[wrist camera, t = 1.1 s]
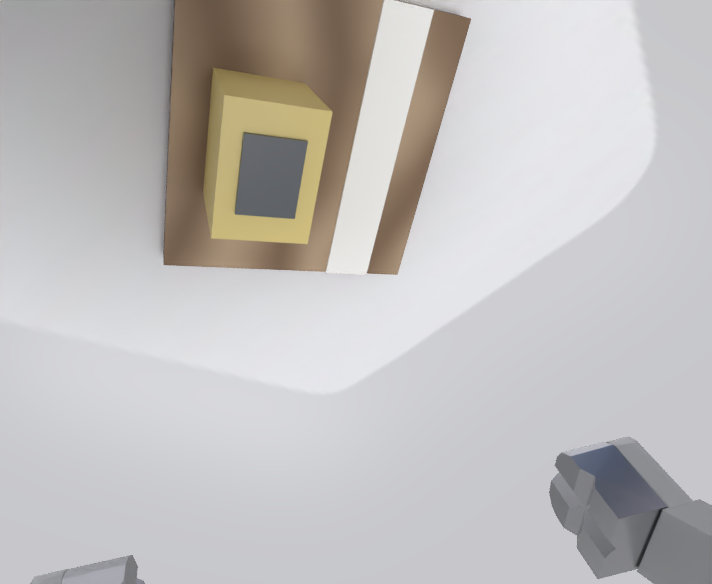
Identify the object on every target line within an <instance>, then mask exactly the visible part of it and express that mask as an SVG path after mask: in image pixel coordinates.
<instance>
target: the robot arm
mask: <svg viewBox="0 0 712 584" xmlns="http://www.w3.org/2000/svg"><path fill="white" fill-rule="evenodd" d="M555 466H556V468H557V469H558V471H559V473H558V474H557V475H556V476H555V477H554V478H553V480H552V481H551V486H550V491H549V493H550V498H551V504H552V507H553V509H554V512H555V514H556V516H557V518H558V519H559V521H560V522H561V524H562V526H563V527H564V528H565V529H567V530H569V531H570V532H572V533H574V534H576V535H577V549H578V550H579V552H580V553H581V555H582V556H583V558H584V559H585V561H586V562H587V564H588V565H589V567H590V568H591V570H592V571H593V573H594V574H595V576H596V577H597V579H600V578H604V577H608V576H612V575H616V574H619V573H623V572H627V571H631V570H635V569H638V570H637V572H639V573H640V574H641V575H643V576H644V577H645V578H647V579H648V580H650V581H651V582H652V583H654V584H712V505H710V504H708V503H706V502H704V501H702V500H695V501H693V500H692V499H691V498H690V497H689V496H688V495H687V494H686V493H685V492H684V491H683V490H682V489H681V488H680V486H679V485H678V484H677V483H676V482H675V481H674V480H673V479H672V478H671V477H670V476H669V475H668V474H667V473H666V472H665V470H663V469H662V467H661V466H660V465H659V464H658V463H657V462H656V461H655V460H654V459H653V458H652V457H651V456H650V454H648V452H647V451H646V450H645V449H644V448H643V447H642V446H641V445H640V444H639V443H638V442H637V441H636V440H634V439H633V438H631V437H625V438H620V439H616V440H613V441H609V442H601V443H598V444H593V445H589V446H585V447H582V448H578V449H574V450H570V451H566V452H562V453H561V454H560V455H559V456H558V457H557V460H556V464H555ZM137 568H138V566H137V564H136V562H135V559H134V558H133V555H130V556H126V557H121V558H117V559H112V560H108V561H103V562H98V563H94V564H90V565H85V566H80V567H76V568H71V569H66V570H61V571H57V572H53V573H48V574H44V575H40V576H36V577H34V579H33V580H32V582H31V584H145V583H144V581H142V580H140V579H137Z"/></svg>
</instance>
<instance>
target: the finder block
mask: <svg viewBox="0 0 712 584" xmlns="http://www.w3.org/2000/svg"><path fill="white" fill-rule="evenodd" d="M332 113H333V112H332V110H331V109H330V108H329V107H328V106H327V105H326V104H325V103H324V102H323V101H322V100H321V99H320V98H319V97H318V96H317V95H316V94H315V93H314V92H313V91H312V90H311V89H310V88H309V87H308V86H307V85H306V84H305V83H301V82H295V81H289V80H283V79H278V78H272V77H266V76H260V75H254V74H248V73H242V72H237V71H231V70H225V69H219V68H213V74H212V86H211V99H210V111H209V124H208V137H207V149H206V162H205V174H204V187H203V195H204V200H205V206H206V212H207V217H208V223H209V229H210V234H211V238H213V239H230V240H247V241H263V242H280V243H297V244H308V240H309V234H310V229H311V224H312V218H313V213H314V208H315V203H316V197H317V192H318V187H319V181H320V176H321V171H322V166H323V160H324V155H325V150H326V144H327V139H328V134H329V129H330V123H331V118H332Z"/></svg>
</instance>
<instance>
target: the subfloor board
mask: <svg viewBox="0 0 712 584" xmlns="http://www.w3.org/2000/svg"><path fill="white" fill-rule="evenodd" d="M470 21H471V19H470V18H466V17H463V16H459V15H455V14H451V13H447V12H443V11H439V10H434V9H430V8H426V7H422V6H418V5H414V4H410V3H406V2H402V1H397V0H175V3H174V26H173V49H172V71H171V94H170V117H169V139H168V162H167V185H166V208H165V230H164V253H163V254H164V265H178V266H202V267H226V268H250V269H274V270H298V271H322V272H326V273H336V274H361V275H366V274H367V273H370V274H394V275H397V274H398V271H399V267H400V264H401V260H402V257H403V253H404V250H405V246H406V243H407V239H408V236H409V232H410V229H411V225H412V222H413V219H414V215H415V212H416V208H417V205H418V201H419V198H420V194H421V191H422V187H423V184H424V180H425V177H426V173H427V170H428V167H429V163H430V160H431V156H432V153H433V149H434V146H435V142H436V139H437V135H438V132H439V128H440V125H441V121H442V118H443V115H444V111H445V108H446V104H447V101H448V97H449V94H450V90H451V87H452V83H453V80H454V76H455V73H456V70H457V66H458V63H459V59H460V56H461V52H462V49H463V45H464V42H465V38H466V35H467V31H468V28H469V24H470ZM213 68H219V69H225V70H231V71H237V72H242V73H248V74H254V75H260V76H266V77H272V78H278V79H283V80H289V81H295V82H301V83H305V84H306V85H307V86H308V87H309V88H310V89H311V90H312V91H313V92H314V93H315V94H316V95H317V96H318V97H319V98H320V99H321V100H322V101H323V102H324V103H325V104H326V105H327V106H328V107H329V108H330V109H331V110H332V112H333V113H332V118H331V123H330V129H329V134H328V139H327V144H326V150H325V155H324V160H323V166H322V171H321V176H320V181H319V187H318V192H317V197H316V203H315V208H314V213H313V218H312V224H311V229H310V234H309V240H308V244H297V243H280V242H263V241H247V240H230V239H213V238H211V234H210V229H209V223H208V217H207V212H206V206H205V200H204V195H203V187H204V174H205V162H206V149H207V137H208V124H209V111H210V99H211V86H212V74H213Z"/></svg>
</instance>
